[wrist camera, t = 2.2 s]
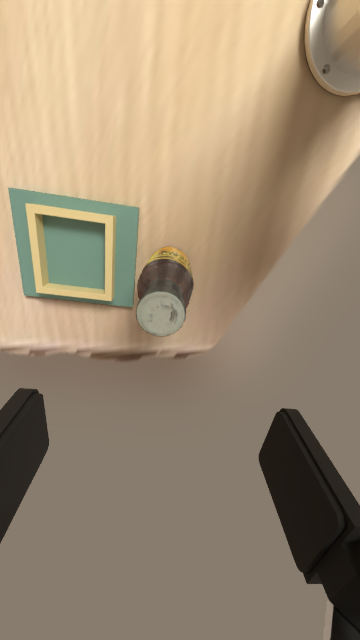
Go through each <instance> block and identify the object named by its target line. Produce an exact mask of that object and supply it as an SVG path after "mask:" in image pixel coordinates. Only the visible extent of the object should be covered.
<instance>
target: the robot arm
mask: <svg viewBox="0 0 360 640" xmlns="http://www.w3.org/2000/svg"><path fill="white" fill-rule="evenodd" d="M305 50H306V57H307V61H308V64H309V68H310V70H311V72H312V74H313V76H314V78H315V79H316V80H317V82H318V83H319V84H320V85H321V86H322V87H323V88H324V89H326V90H327V91H329V92H331V93H333V94H336V95H342V96H350V95H356V94H359V93H360V0H311V1H310V5H309V8H308V11H307V18H306V24H305ZM323 72H324V74H323ZM48 446H49V438H48V431H47V423H46V415H45V408H44V400H43V395H42V394H39V392H38V390H37V389H24V388H20V389H18V390H17V391H16V392H15V394H14V395H13V396H12V397H11V398H10V399H9V400H8V402H7V403H6V404H5V405H4V406H3V408H2V409H1V410H0V543H1V541H2V539H3V537H4V535H5V533H6V531H7V529H8V527H9V525H10V523H11V521H12V519H13V517H14V515H15V513H16V511H17V509H18V507H19V505H20V503H21V501H22V499H23V497H24V495H25V493H26V491H27V489H28V487H29V485H30V484H31V482H32V480H33V478H34V476H35V474H36V472H37V470H38V468H39V466H40V464H41V462H42V460H43V458H44V456H45V454H46V452H47V449H48ZM259 463H260V466H261V468H262V471H263V474H264V477H265V480H266V482H267V485H268V488H269V491H270V493H271V496H272V499H273V502H274V505H275V507H276V510H277V513H278V516H279V518H280V521H281V524H282V526H283V530H284V533H285V535H286V538H287V541H288V544H289V546H290V549H291V552H292V555H293V558H294V560H295V563H296V565H297V567H298V569H299V570H300V571H301V572H303V574H304V577H305V580H306V583H307V584H322V585H323V587H324V589H325V592H326V594H327V597H328V599H327V608H326V617H325V625H324V634H323V640H360V505H359V504H358V502H357V501H356V499H355V498H354V496H353V494H352V493H351V491H350V490H349V488H348V487H347V485H346V484H345V482H344V481H343V479H342V477H341V476H340V474H339V473H338V471H337V470H336V468H335V467H334V465H333V463H332V462H331V460H330V459H329V457H328V456H327V454H326V453H325V451H324V450H323V448H322V447H321V445H320V443H319V442H318V440H317V439H316V437H315V436H314V434H313V433H312V431H311V429H310V428H309V426H308V425H307V423H306V422H305V420H304V419H303V417H302V416H301V414H300V412H299V411H298V410H296V409H284V408H282V409H281V410H280V411H279V412H277V413H276V415H275V417H274V420H273V422H272V424H271V427H270V429H269V431H268V434H267V436H266V438H265V441H264V443H263V446H262V448H261V450H260V453H259Z"/></svg>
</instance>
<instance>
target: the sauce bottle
mask: <svg viewBox="0 0 360 640" xmlns="http://www.w3.org/2000/svg"><path fill="white" fill-rule="evenodd" d="M137 288H138V289H137V290H138V297H139V299H140V300H139V302H138V305H137V309H136V317H137V321H138V322H139V325H140V326H141V327H142V328H143V330H145V331H146V332H148V333H150V334H152V335H154V336H160V337H163V336H168V335H171V334H174V333H175V332H177V331H178V330H179V329H180V328H181V327H182V325H183V323H184V321H185V317H186V308H187V306H188V304H189V300H190V297H191V294H192V290H193V277H192V273H191V269H190V264H189V261H188V259H187V257H186V255H185V254H184V253H183V252H182V251H180V250H179V249H177V248H174V247H164V248H161V249H159V250H157V251H156V252H155V253H154V254H153V255H152V256H151V258H150V260H149V261H148V263H147V264H146V266H145V267H144V269H143V271H142V273H141V275H140V278H139V280H138V286H137Z"/></svg>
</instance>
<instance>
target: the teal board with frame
mask: <svg viewBox="0 0 360 640" xmlns="http://www.w3.org/2000/svg"><path fill="white" fill-rule="evenodd" d="M8 189H9V196H10V203H11V210H12V216H13V223H14V230H15V237H16V244H17V250H18V257H19V264H20V271H21V278H22V284H23V291H24V295H27V296H35V297H44V298H53V299H62V300H71V301H80V302H88V303H97V304H106V305H115V306H124V307H133V302H134V285H135V269H136V253H137V236H138V220H139V208H138V207H131V206H125V205H118V204H112V203H105V202H99V201H92V200H86V199H80V198H73V197H67V196H60V195H54V194H47V193H41V192H34V191H28V190H21V189H15V188H8Z"/></svg>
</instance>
